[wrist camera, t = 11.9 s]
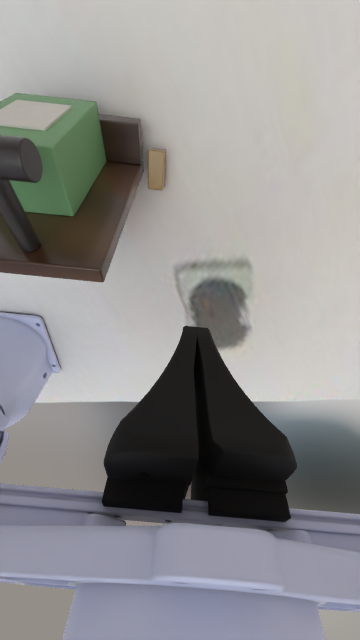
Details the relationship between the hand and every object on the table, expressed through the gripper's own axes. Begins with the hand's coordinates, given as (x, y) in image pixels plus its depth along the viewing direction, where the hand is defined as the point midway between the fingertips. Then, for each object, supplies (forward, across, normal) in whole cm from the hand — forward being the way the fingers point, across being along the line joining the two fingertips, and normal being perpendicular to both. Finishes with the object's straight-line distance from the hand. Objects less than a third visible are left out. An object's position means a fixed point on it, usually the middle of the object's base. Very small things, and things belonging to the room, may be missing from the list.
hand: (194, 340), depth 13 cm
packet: (+6, +9, -6) cm, 12 cm away
